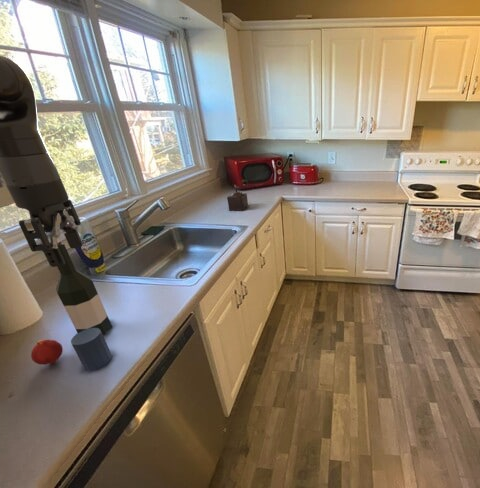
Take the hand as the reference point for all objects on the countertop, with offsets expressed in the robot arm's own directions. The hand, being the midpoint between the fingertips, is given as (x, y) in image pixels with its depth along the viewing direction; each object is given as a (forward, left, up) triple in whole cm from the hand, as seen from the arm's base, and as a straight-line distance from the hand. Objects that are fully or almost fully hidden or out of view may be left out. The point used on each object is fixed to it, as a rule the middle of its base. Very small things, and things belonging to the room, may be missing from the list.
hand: (68, 255), depth 59 cm
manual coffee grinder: (+39, +128, -33) cm, 138 cm away
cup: (-6, +4, -33) cm, 34 cm away
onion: (-17, +8, -33) cm, 38 cm away
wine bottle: (-11, +18, -33) cm, 39 cm away
